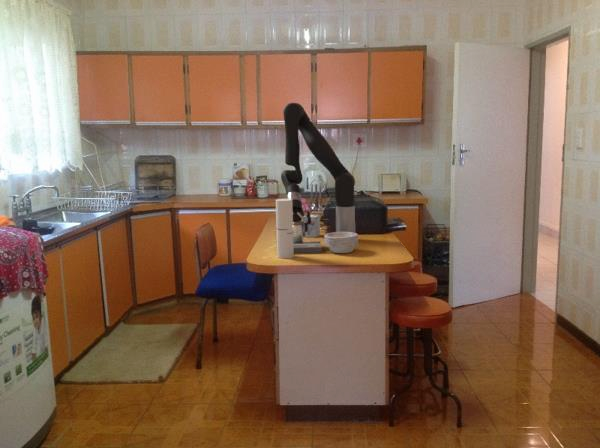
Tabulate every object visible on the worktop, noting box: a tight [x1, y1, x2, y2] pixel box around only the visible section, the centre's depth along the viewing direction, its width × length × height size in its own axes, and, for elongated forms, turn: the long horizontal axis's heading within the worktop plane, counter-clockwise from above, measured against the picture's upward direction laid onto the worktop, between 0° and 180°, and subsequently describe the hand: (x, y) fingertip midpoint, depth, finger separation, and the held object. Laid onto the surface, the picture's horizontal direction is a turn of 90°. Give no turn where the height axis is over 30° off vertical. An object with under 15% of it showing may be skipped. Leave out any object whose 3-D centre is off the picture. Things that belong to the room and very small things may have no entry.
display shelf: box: [293, 240, 323, 254], centre depth 251 cm, size 17×13×4 cm
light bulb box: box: [303, 214, 321, 238], centre depth 283 cm, size 11×7×11 cm, turn 68°
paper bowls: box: [323, 231, 359, 254], centre depth 246 cm, size 15×15×8 cm
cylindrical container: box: [275, 198, 295, 259], centre depth 237 cm, size 7×7×25 cm
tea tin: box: [293, 221, 304, 244], centre depth 253 cm, size 6×6×10 cm
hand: (296, 231), depth 252 cm, fingers open, 8 cm apart
